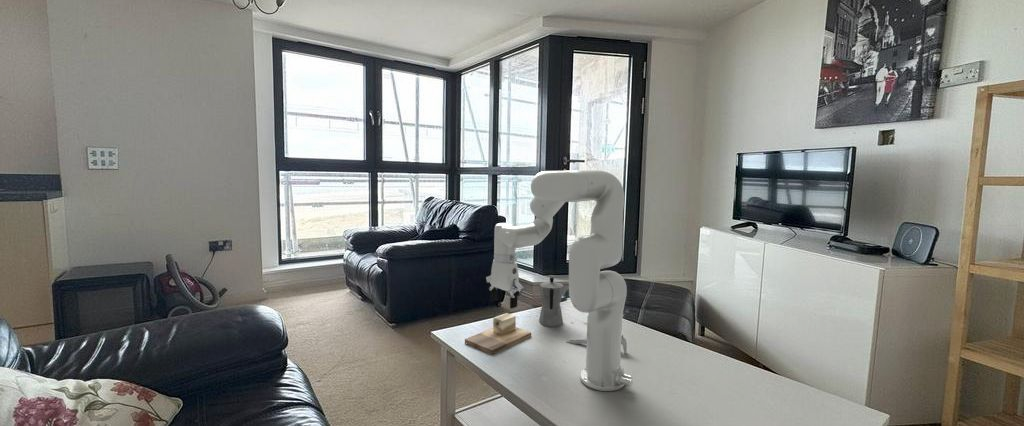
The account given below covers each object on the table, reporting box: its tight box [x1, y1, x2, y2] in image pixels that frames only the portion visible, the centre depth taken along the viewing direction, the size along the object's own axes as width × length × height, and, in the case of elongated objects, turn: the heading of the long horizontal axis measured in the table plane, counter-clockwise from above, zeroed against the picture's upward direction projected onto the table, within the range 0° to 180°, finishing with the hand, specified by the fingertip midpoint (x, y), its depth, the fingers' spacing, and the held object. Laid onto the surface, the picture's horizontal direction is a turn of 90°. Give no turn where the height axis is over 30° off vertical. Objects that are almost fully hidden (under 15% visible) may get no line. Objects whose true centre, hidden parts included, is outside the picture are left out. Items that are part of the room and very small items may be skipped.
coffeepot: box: [538, 276, 565, 327], centre depth 162 cm, size 15×9×18 cm, turn 175°
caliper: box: [565, 334, 628, 354], centre depth 141 cm, size 20×1×6 cm, turn 64°
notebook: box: [464, 326, 532, 356], centre depth 147 cm, size 13×20×2 cm, turn 138°
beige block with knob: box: [492, 312, 517, 335], centre depth 152 cm, size 4×9×5 cm, turn 138°
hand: (503, 304), depth 151 cm, fingers open, 9 cm apart
